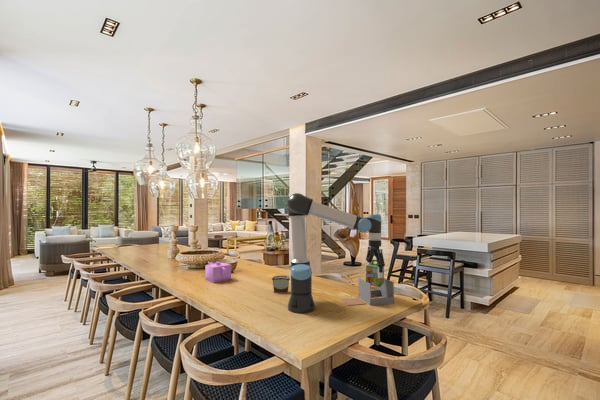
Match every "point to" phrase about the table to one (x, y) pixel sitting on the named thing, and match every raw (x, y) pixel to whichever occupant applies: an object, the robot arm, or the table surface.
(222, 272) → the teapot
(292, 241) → the robot arm
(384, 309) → the table surface
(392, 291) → the grey open holder
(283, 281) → the food container
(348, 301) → the mat
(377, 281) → the green juice carton
